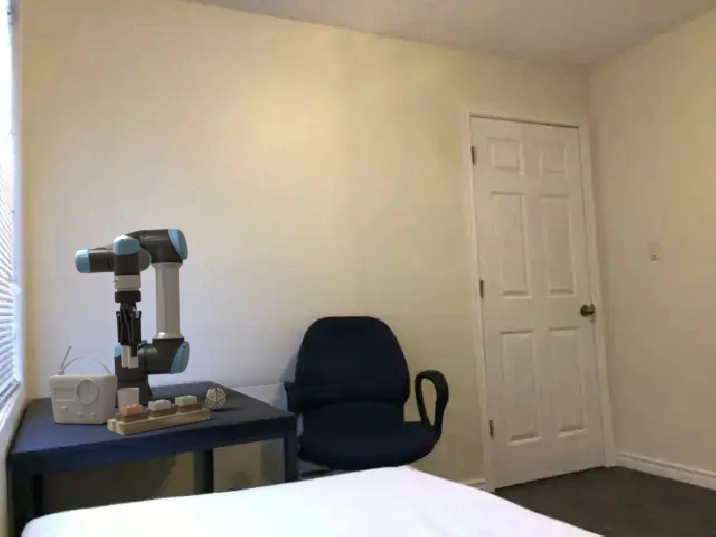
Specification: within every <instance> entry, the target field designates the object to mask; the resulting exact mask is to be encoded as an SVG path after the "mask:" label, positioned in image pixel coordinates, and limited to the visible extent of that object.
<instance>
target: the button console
mask: <svg viewBox="0 0 716 537" xmlns="http://www.w3.org/2000/svg"><path fill="white" fill-rule="evenodd" d="M206 419H208V420H210V419H211V410H209V408H204V407H203V402H199V401H197V404H191V405H185V406H180V405H176V404H175V402H174V403H171V408H167V409H161V410H151V409H148V407H143V413H136V414H130V415H124V414H120V412H119V411H118V412H114V418H113V419H108V420H107V422H106V424H107V430H109V431H111V432H114V433H117V434H119V435H122V436H127V435H132V434H136V433H143V432H149V431H153V430H158V429H164V428H170V427H175V425H176V426H179V425H180V424H181V425H186V424H190V423H191V422H192V423H197V422H202V421H206ZM201 420H202V421H201ZM196 421H197V422H196ZM185 423H186V424H185ZM181 425H180V426H181Z"/></svg>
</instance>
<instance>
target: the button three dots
mask: <svg viewBox="0 0 716 537" xmlns="http://www.w3.org/2000/svg"><path fill="white" fill-rule="evenodd" d="M143 411H144V405H139V404H131V405H125V406H120V414H124V415H130V414H136V413H143Z"/></svg>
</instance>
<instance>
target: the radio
mask: <svg viewBox="0 0 716 537" xmlns="http://www.w3.org/2000/svg"><path fill="white" fill-rule="evenodd" d="M72 347H73V345H71V344H70V345H68V348H67V351H66V353H65V355H64V357H63V360H62V362H61V365H60V366H59V370H58V371H57V374H54V375H51V376H50V377H49V379H48V386H49V387H48V388H49V393H50V399H51V400H50V401H51V407H52V412H53V421H54V422H55V423H57V424H64V425H65V424H66V425H67V424H69V425H70V424H71V425H76V424H77V425H103V424H105V423H106V424H107V420H108V419H114V418H115V409H116V407H115V400H116V390H117V376H116V374H115V372H111V371H110V370H109V369H108V367H107V365H105V364H104V363H103V362H102V361H100V360H98V359H96V358H95V357H89V356H82V357H80V359H81V358H86V359H92V360H94V361H95V362H98V363H99V364H100V365H101V366H102V367H104V369H105V371H106V373H105V372H87V373H85V372H75V373H73V372H70V373H67V372H65V370H66V368H67V367H68V366H69V365H70V364H71V362H74V361H76V360H77V359H79V357H76V358H73V359H72V360H70V361H68V363H66V365H65V366H64V364H65V362H66V360H67V358H68V355H69V353H70V351H71V349H72Z"/></svg>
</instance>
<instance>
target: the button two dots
mask: <svg viewBox="0 0 716 537" xmlns="http://www.w3.org/2000/svg"><path fill="white" fill-rule="evenodd" d="M171 404H172V403H171V400H167V399H157V400H154V401H151V402H148V407H147V408H148V409H151V410H161V409H167V408H171Z"/></svg>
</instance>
